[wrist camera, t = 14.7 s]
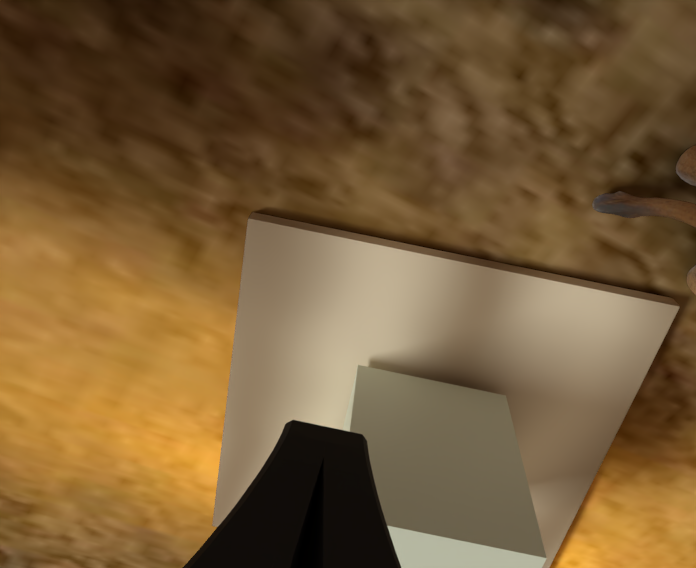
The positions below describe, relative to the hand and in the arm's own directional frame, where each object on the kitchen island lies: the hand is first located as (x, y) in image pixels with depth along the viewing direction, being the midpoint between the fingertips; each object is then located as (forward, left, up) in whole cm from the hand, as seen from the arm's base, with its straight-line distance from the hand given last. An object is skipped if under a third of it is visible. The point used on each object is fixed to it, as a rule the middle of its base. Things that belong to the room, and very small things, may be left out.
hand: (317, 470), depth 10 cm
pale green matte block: (+3, -7, -9) cm, 12 cm away
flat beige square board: (+3, -7, -10) cm, 13 cm away
